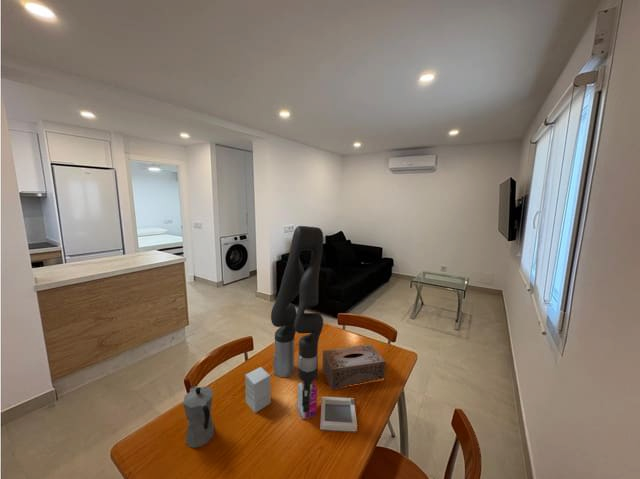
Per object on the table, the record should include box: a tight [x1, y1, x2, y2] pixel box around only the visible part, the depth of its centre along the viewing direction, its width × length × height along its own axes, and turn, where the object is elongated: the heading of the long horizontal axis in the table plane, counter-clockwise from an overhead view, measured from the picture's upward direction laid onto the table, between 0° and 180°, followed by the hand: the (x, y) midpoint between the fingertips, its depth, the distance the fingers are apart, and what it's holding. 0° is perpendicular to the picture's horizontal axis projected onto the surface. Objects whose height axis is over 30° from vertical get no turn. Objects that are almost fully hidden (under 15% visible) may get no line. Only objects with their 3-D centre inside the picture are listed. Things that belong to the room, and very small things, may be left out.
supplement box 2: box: [297, 382, 318, 421], centre depth 96 cm, size 6×6×12 cm
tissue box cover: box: [322, 343, 387, 390], centre depth 119 cm, size 26×14×10 cm, turn 105°
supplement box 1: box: [244, 366, 272, 414], centre depth 100 cm, size 7×7×13 cm
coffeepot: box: [182, 385, 215, 449], centre depth 84 cm, size 15×9×18 cm, turn 43°
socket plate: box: [319, 396, 358, 433], centre depth 95 cm, size 13×13×3 cm
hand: (307, 402), depth 97 cm, fingers open, 8 cm apart
